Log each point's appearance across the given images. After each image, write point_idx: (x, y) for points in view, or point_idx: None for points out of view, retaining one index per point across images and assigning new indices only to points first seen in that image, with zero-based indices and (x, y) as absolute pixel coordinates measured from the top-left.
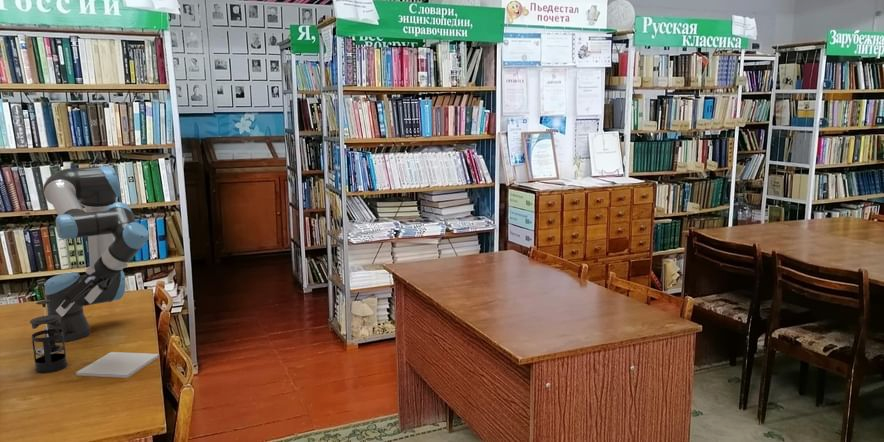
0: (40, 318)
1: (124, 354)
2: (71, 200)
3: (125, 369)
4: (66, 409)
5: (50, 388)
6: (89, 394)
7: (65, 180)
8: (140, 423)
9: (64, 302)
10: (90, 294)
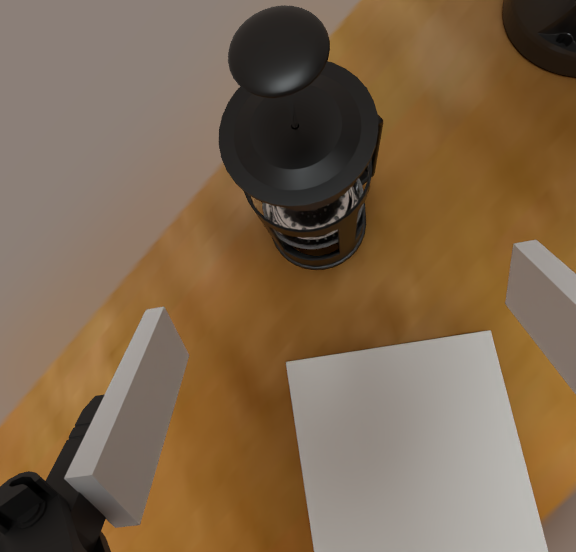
0: (282, 104)
1: (488, 408)
2: None
3: (360, 535)
4: None
5: None
6: (174, 536)
7: None
8: None
9: (63, 459)
10: (555, 308)
